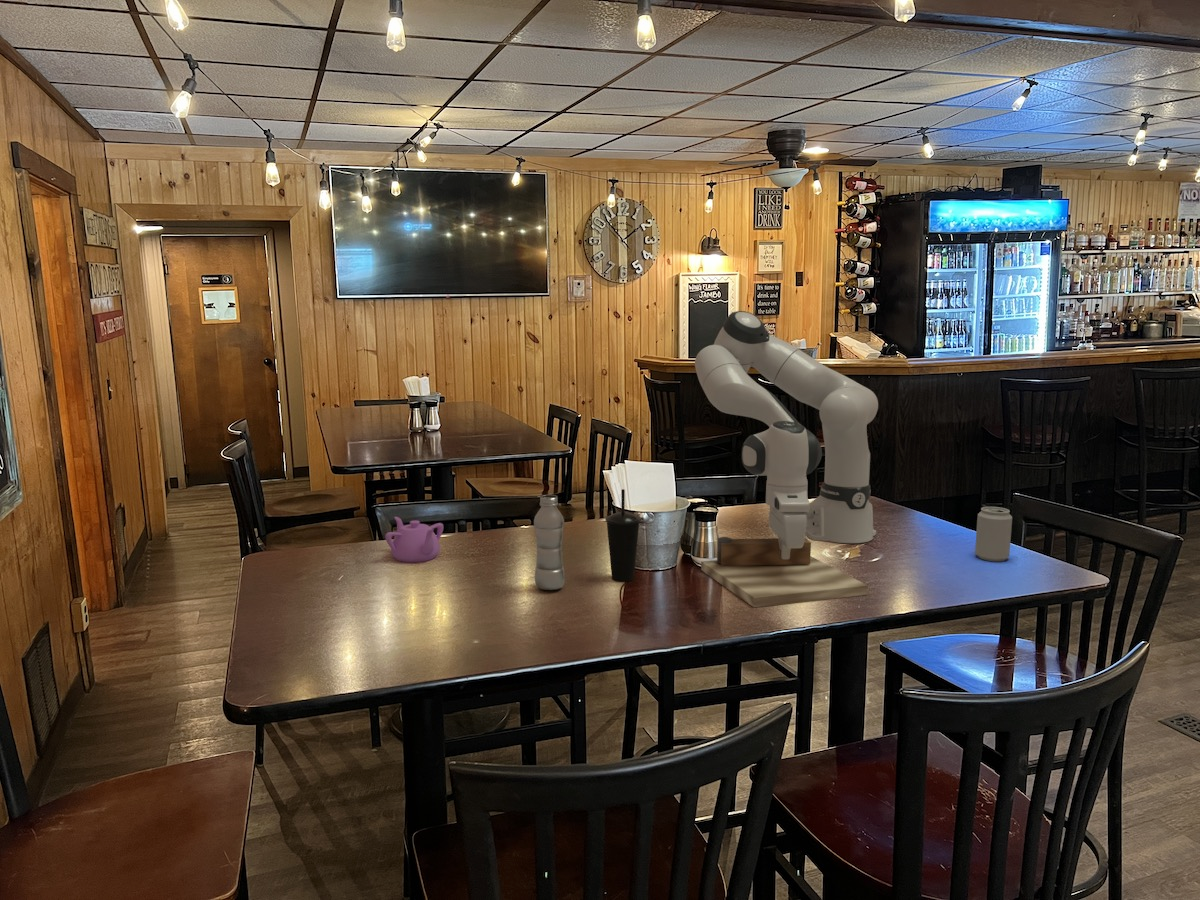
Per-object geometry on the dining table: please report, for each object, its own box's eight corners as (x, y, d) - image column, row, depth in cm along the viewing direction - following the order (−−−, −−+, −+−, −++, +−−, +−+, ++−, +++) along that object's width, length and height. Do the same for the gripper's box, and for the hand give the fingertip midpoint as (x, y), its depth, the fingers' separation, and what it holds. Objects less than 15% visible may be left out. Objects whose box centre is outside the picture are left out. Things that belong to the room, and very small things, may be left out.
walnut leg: (718, 565, 193) (719, 541, 192) (715, 560, 197) (715, 536, 196) (810, 564, 194) (811, 539, 193) (804, 559, 198) (805, 535, 197)
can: (1014, 562, 203) (1018, 512, 202) (982, 562, 204) (986, 512, 202) (1000, 553, 211) (1004, 505, 209) (969, 553, 211) (973, 505, 209)
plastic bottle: (542, 595, 180) (541, 501, 177) (529, 586, 186) (528, 495, 183) (570, 590, 183) (569, 498, 180) (557, 582, 189) (556, 492, 186)
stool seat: (701, 570, 198) (701, 548, 197) (802, 560, 205) (803, 539, 204) (754, 607, 173) (754, 583, 172) (867, 594, 181) (868, 571, 180)
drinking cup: (622, 571, 197) (622, 484, 194) (647, 578, 192) (648, 489, 188) (598, 578, 192) (598, 489, 189) (623, 586, 186) (623, 494, 183)
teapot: (434, 565, 202) (433, 528, 200) (377, 563, 204) (375, 526, 202) (450, 551, 214) (449, 516, 212) (396, 549, 215) (394, 514, 214)
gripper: (763, 487, 200) (761, 546, 202) (781, 506, 180) (779, 570, 182) (790, 487, 200) (788, 546, 202) (812, 506, 180) (809, 570, 182)
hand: (784, 558), depth 192 cm, fingers closed
